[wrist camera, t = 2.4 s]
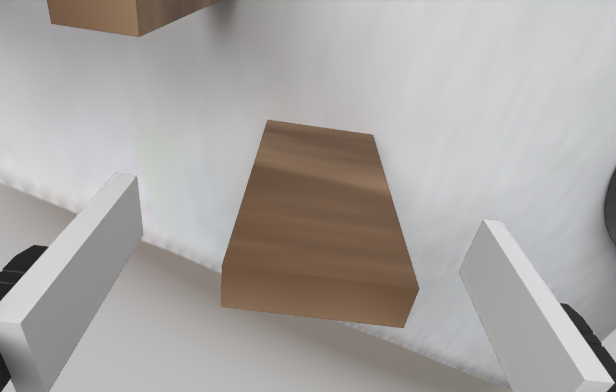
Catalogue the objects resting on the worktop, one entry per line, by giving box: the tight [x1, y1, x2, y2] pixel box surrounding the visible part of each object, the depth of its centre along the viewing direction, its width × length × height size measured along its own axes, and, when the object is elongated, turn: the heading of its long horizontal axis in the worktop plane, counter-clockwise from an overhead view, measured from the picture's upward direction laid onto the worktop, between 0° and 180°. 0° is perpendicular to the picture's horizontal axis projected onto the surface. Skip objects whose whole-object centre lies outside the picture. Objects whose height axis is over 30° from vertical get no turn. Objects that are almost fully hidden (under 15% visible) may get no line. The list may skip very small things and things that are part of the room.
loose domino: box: [221, 120, 419, 328], centre depth 17 cm, size 2×6×12 cm, turn 82°
